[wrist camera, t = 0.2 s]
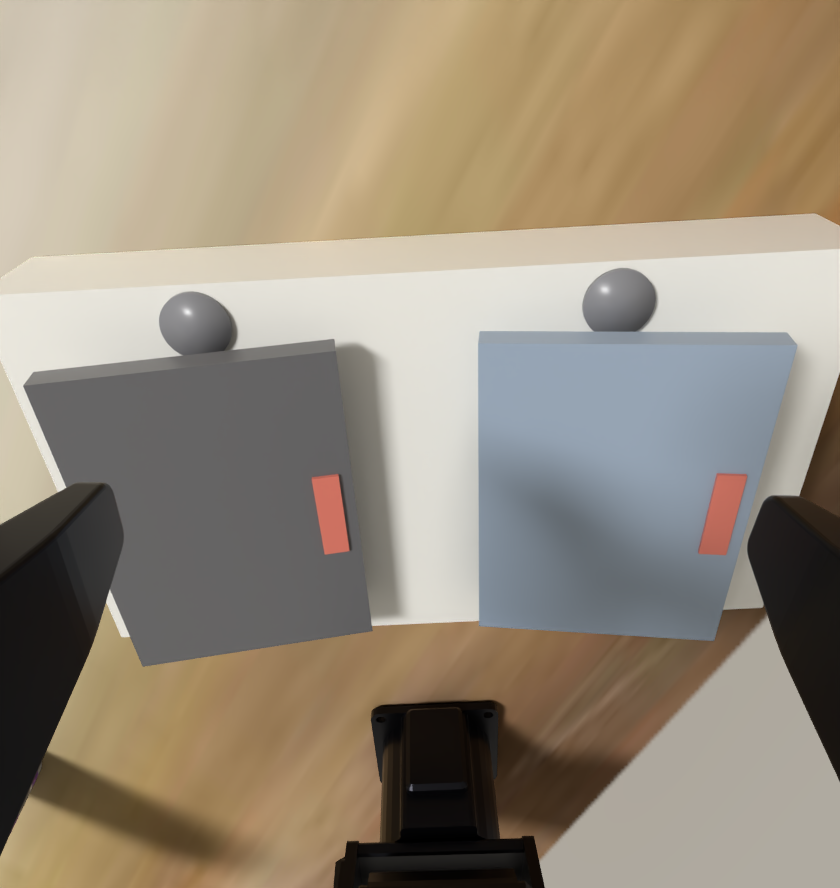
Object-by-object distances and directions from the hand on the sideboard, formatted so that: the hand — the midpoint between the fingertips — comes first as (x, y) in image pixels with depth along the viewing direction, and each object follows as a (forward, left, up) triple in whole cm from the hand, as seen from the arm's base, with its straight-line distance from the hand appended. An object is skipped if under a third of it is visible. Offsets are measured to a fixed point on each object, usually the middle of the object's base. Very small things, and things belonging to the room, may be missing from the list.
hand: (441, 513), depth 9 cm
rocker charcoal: (-7, +7, -10) cm, 14 cm away
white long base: (-7, 0, -14) cm, 16 cm away
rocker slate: (-7, -5, -10) cm, 13 cm away
